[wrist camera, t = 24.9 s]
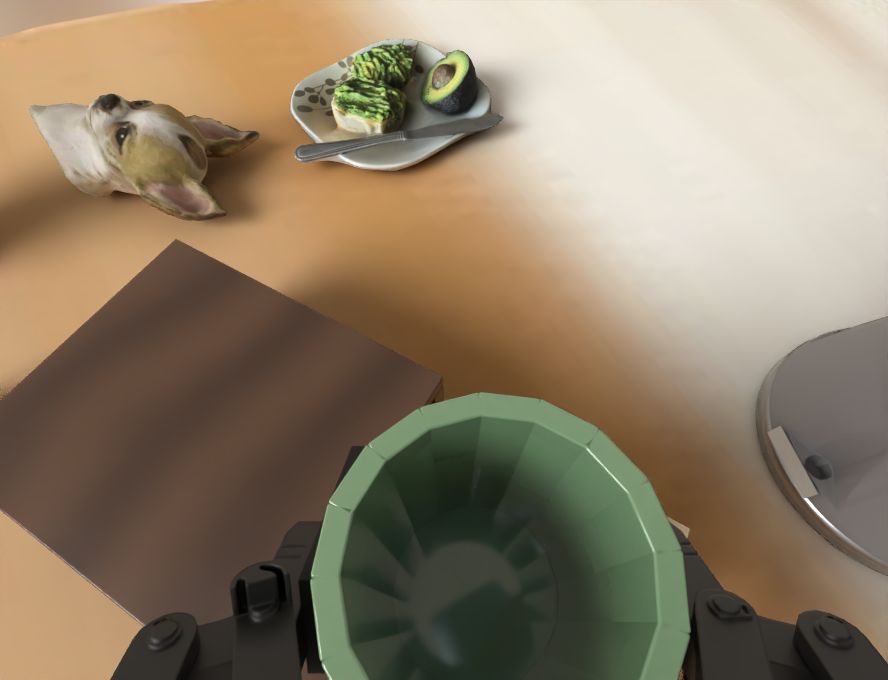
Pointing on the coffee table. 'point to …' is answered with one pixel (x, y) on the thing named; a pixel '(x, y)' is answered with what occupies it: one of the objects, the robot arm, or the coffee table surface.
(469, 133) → the avocado toast plate
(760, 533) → the coffee table surface
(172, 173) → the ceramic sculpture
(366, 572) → the pot
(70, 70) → the coffee table surface
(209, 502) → the cabinet
